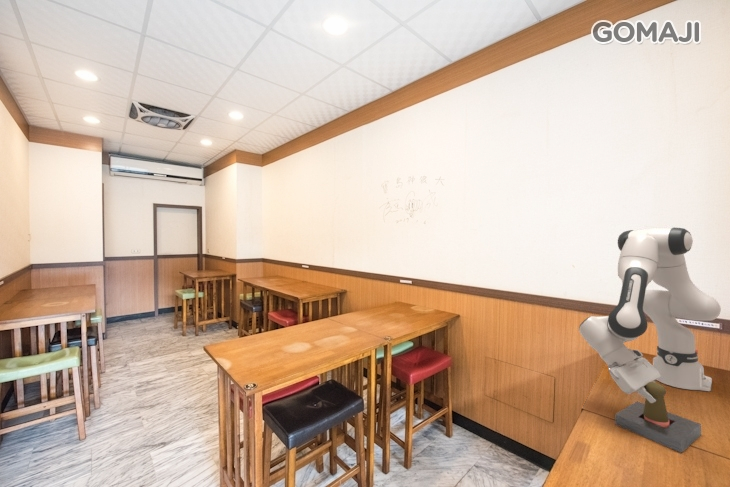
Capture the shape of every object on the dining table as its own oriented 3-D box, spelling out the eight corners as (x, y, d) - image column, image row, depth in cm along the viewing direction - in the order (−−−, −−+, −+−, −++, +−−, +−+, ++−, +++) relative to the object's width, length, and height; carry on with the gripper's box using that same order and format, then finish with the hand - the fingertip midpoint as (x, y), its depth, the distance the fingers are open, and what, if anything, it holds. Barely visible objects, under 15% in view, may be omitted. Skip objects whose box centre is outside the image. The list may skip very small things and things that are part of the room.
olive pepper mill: (674, 423, 95) (672, 388, 94) (651, 421, 96) (650, 387, 96) (659, 412, 100) (658, 380, 100) (638, 411, 102) (637, 379, 102)
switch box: (637, 410, 109) (636, 401, 109) (701, 435, 95) (700, 424, 95) (615, 424, 101) (614, 414, 101) (681, 453, 87) (680, 441, 87)
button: (648, 421, 102) (648, 410, 102) (673, 431, 97) (672, 419, 97) (640, 427, 99) (640, 415, 99) (665, 437, 94) (664, 424, 94)
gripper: (613, 362, 99) (653, 405, 91) (641, 349, 109) (679, 387, 100) (598, 370, 103) (635, 412, 95) (626, 358, 113) (662, 395, 104)
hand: (658, 399), depth 97 cm, fingers open, 4 cm apart
